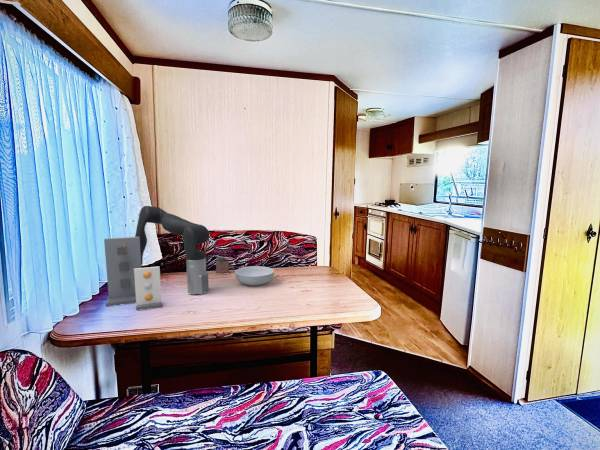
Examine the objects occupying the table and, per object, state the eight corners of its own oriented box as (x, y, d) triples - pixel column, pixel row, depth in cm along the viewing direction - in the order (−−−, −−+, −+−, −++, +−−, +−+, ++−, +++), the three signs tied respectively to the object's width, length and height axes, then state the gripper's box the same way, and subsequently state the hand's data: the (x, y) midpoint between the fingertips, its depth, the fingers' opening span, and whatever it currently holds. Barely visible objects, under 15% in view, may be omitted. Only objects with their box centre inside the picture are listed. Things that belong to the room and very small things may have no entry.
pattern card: (137, 305, 144) (134, 267, 142) (161, 302, 148) (159, 265, 145) (136, 310, 138) (133, 270, 136) (161, 307, 142) (159, 268, 140)
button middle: (121, 266, 155) (121, 259, 155) (129, 265, 157) (129, 258, 156) (119, 271, 147) (119, 263, 147) (128, 270, 149) (127, 262, 148)
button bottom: (122, 282, 156) (122, 275, 156) (131, 281, 158) (130, 274, 157) (120, 288, 148) (120, 280, 148) (129, 287, 150) (128, 279, 149)
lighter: (230, 272, 196) (229, 256, 194) (228, 274, 192) (227, 257, 191) (217, 272, 196) (216, 256, 195) (215, 274, 193) (214, 257, 192)
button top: (119, 251, 151) (119, 244, 151) (128, 250, 153) (127, 243, 152) (117, 255, 143) (116, 247, 143) (126, 254, 145) (125, 247, 144)
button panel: (110, 296, 155) (105, 236, 151) (144, 292, 161) (141, 234, 157) (105, 306, 143) (100, 241, 139) (143, 301, 149) (139, 239, 145)
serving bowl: (272, 289, 166) (272, 276, 165) (231, 289, 166) (230, 276, 165) (275, 277, 187) (275, 265, 186) (239, 277, 187) (239, 265, 186)
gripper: (115, 263, 171) (110, 272, 155) (143, 261, 176) (141, 269, 160) (116, 277, 172) (112, 287, 156) (144, 274, 177) (142, 283, 161)
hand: (127, 278), depth 158 cm, fingers closed
